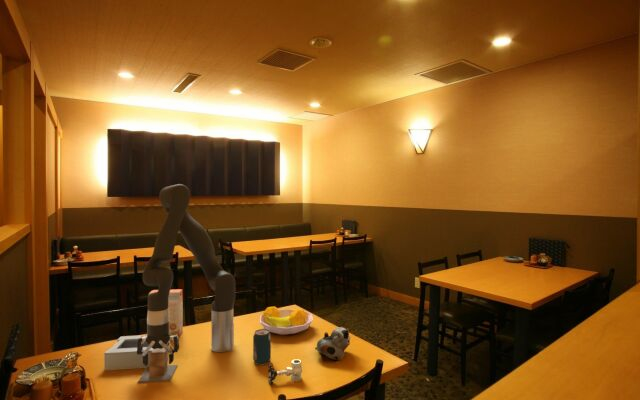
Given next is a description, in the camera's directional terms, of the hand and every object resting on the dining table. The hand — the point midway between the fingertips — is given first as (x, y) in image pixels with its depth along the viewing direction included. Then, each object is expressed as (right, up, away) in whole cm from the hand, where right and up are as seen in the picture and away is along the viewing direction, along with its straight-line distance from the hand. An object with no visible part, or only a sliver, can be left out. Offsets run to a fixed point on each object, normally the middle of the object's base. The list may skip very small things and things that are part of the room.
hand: (158, 363), depth 135 cm
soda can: (+37, -4, +11) cm, 39 cm away
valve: (+48, -5, -4) cm, 48 cm away
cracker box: (-13, -3, +38) cm, 40 cm away
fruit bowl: (+43, -3, +44) cm, 62 cm away
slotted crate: (-13, -4, +12) cm, 18 cm away
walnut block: (0, -3, 0) cm, 3 cm away
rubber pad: (0, -4, 0) cm, 4 cm away
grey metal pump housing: (+65, -4, +18) cm, 68 cm away
